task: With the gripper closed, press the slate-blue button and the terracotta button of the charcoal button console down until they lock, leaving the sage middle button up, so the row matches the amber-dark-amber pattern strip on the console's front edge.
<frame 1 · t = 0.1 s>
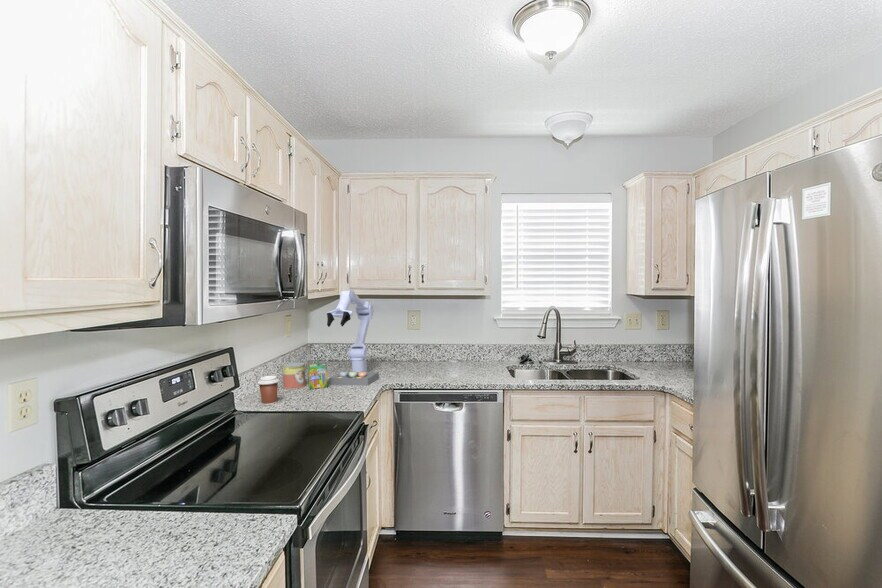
hand: (334, 325, 230), 32 cm above the worktop, tool tilted 50°, fingers open, 7 cm apart
button terracotta: (362, 375, 236), point 4 cm above the worktop, slide at 0.0 cm
button sage: (352, 375, 238), point 4 cm above the worktop, slide at 0.0 cm
coffee cup: (269, 403, 201), on the worktop
canned food: (294, 387, 232), on the worktop
console: (354, 381, 240), on the worktop
chalk box: (318, 387, 230), on the worktop
button slate: (343, 374, 239), point 4 cm above the worktop, slide at 0.0 cm
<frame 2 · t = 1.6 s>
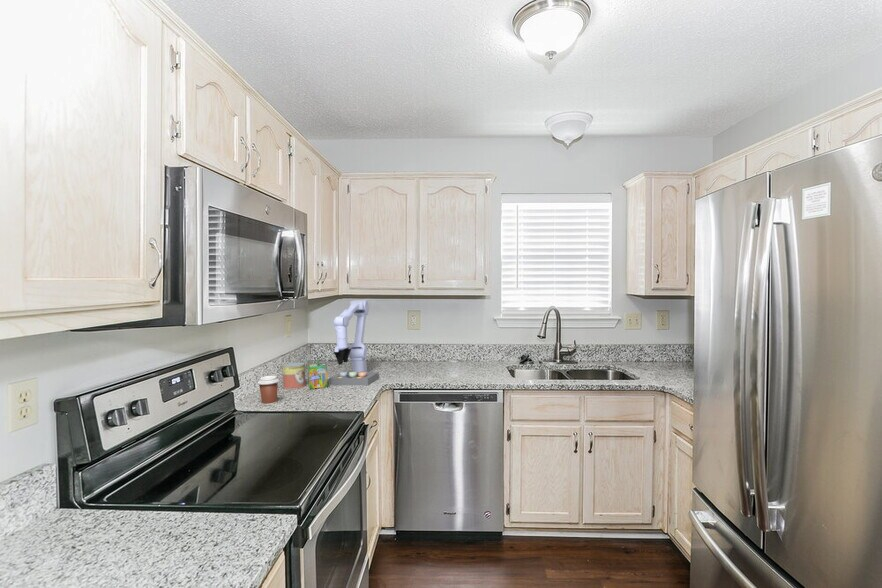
hand: (343, 363, 239), 10 cm above the worktop, tool pointing down, fingers open, 6 cm apart
nothing on the worktop moved.
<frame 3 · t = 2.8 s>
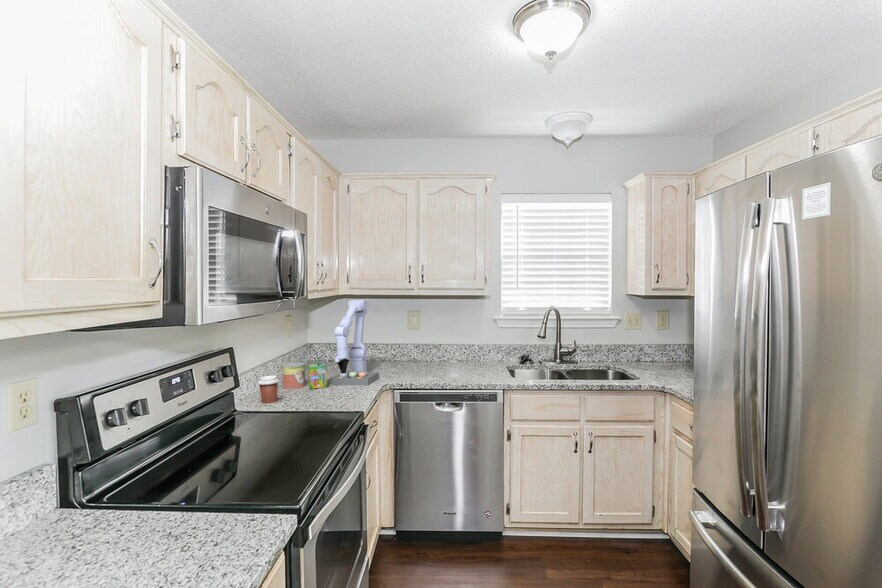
hand: (343, 373, 239), 5 cm above the worktop, tool pointing down, fingers closed, pressing on button slate
button slate: (343, 375, 239), point 3 cm above the worktop, slide at 0.5 cm, touching gripper
everything else where it was.
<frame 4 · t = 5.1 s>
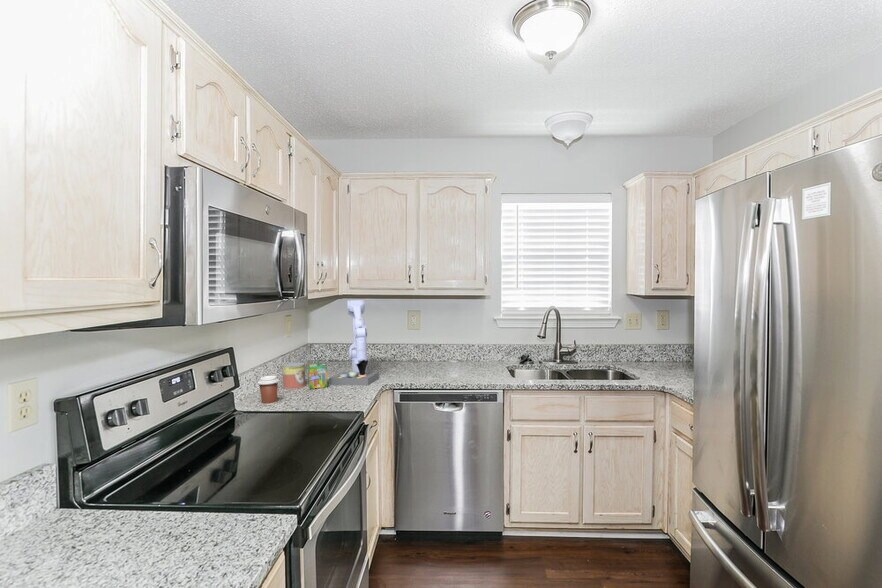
hand: (362, 374, 236), 4 cm above the worktop, tool pointing down, fingers closed, pressing on button terracotta
button terracotta: (362, 377, 236), point 3 cm above the worktop, slide at 1.3 cm, touching gripper
button slate: (343, 377, 239), point 3 cm above the worktop, slide at 1.3 cm
everything else where it was.
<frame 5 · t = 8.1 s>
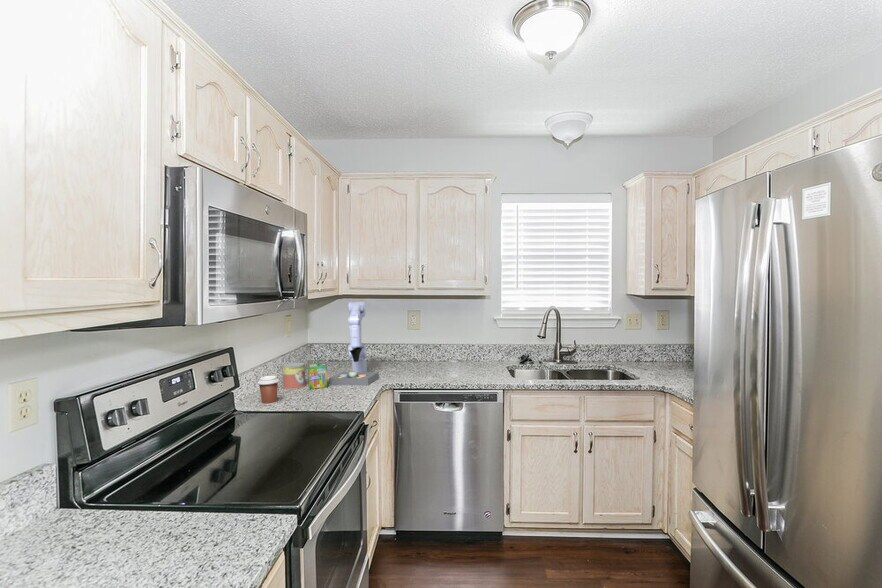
hand: (356, 361, 242), 10 cm above the worktop, tool pointing down, fingers closed
button terracotta: (362, 377, 236), point 3 cm above the worktop, slide at 1.3 cm
everything else where it was.
at the end: button slate slide at 1.3 cm; button terracotta slide at 1.3 cm; button sage slide at 0.0 cm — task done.
